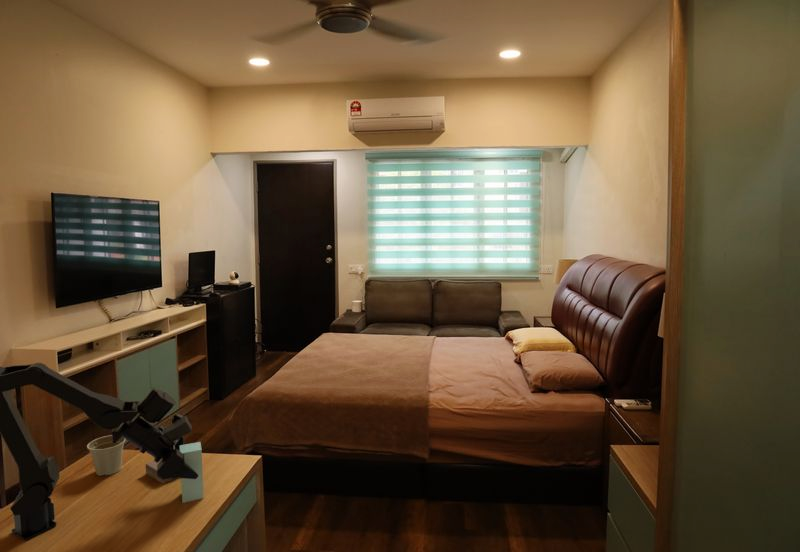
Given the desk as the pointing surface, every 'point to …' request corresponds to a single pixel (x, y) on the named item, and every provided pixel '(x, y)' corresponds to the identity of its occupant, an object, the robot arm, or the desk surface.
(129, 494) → the desk surface
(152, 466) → the base slab
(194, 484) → the pillar
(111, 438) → the flower pot
